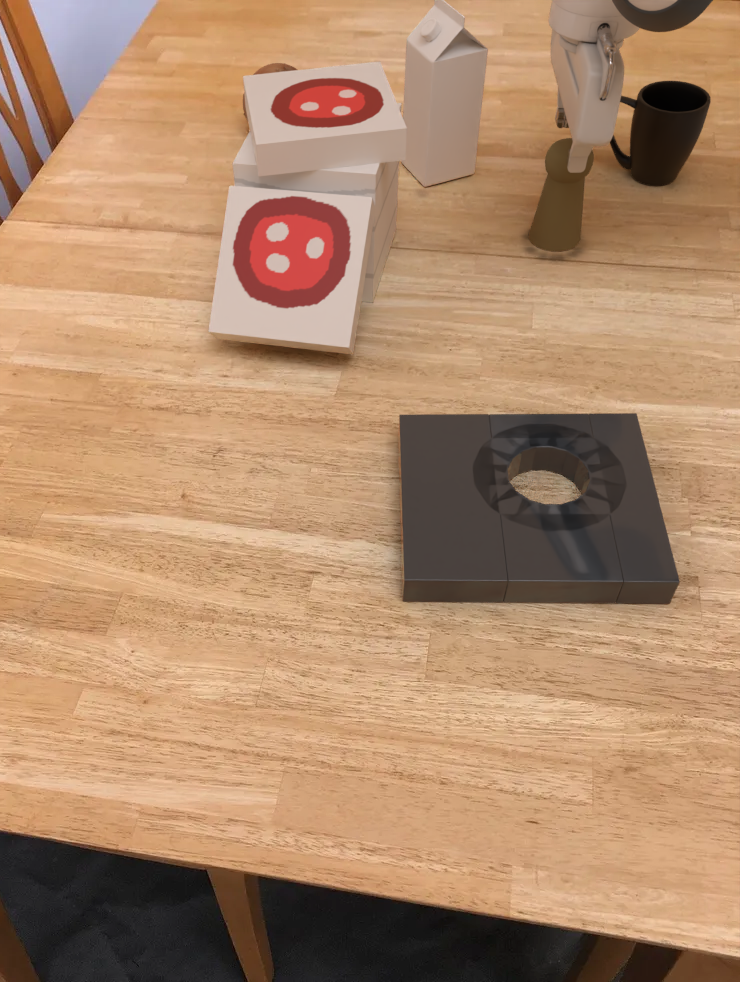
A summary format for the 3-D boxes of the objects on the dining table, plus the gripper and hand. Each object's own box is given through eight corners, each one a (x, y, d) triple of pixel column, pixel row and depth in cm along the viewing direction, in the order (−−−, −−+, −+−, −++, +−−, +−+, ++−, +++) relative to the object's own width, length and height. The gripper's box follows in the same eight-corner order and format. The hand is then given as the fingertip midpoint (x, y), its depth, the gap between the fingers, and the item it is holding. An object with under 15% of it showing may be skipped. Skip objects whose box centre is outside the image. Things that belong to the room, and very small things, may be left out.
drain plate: (629, 436, 88) (636, 412, 86) (669, 604, 76) (680, 582, 74) (398, 437, 90) (399, 414, 88) (402, 602, 78) (404, 580, 76)
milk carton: (449, 150, 122) (463, -12, 107) (474, 175, 118) (492, 10, 103) (400, 162, 121) (407, 0, 106) (424, 188, 117) (435, 23, 102)
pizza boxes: (195, 359, 99) (169, 200, 84) (267, 208, 116) (255, 54, 101) (372, 380, 95) (375, 218, 81) (419, 221, 112) (428, 63, 98)
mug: (595, 149, 120) (612, 72, 113) (691, 162, 117) (715, 84, 109) (583, 182, 116) (599, 104, 108) (682, 196, 113) (706, 117, 105)
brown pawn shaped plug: (557, 257, 106) (575, 164, 98) (517, 236, 109) (532, 144, 101) (591, 237, 108) (612, 144, 100) (551, 216, 111) (568, 124, 103)
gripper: (651, 51, 83) (614, 197, 94) (613, -37, 95) (585, 101, 106) (579, 53, 83) (551, 198, 94) (551, -35, 95) (529, 102, 106)
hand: (568, 146), depth 100 cm, fingers open, 8 cm apart
